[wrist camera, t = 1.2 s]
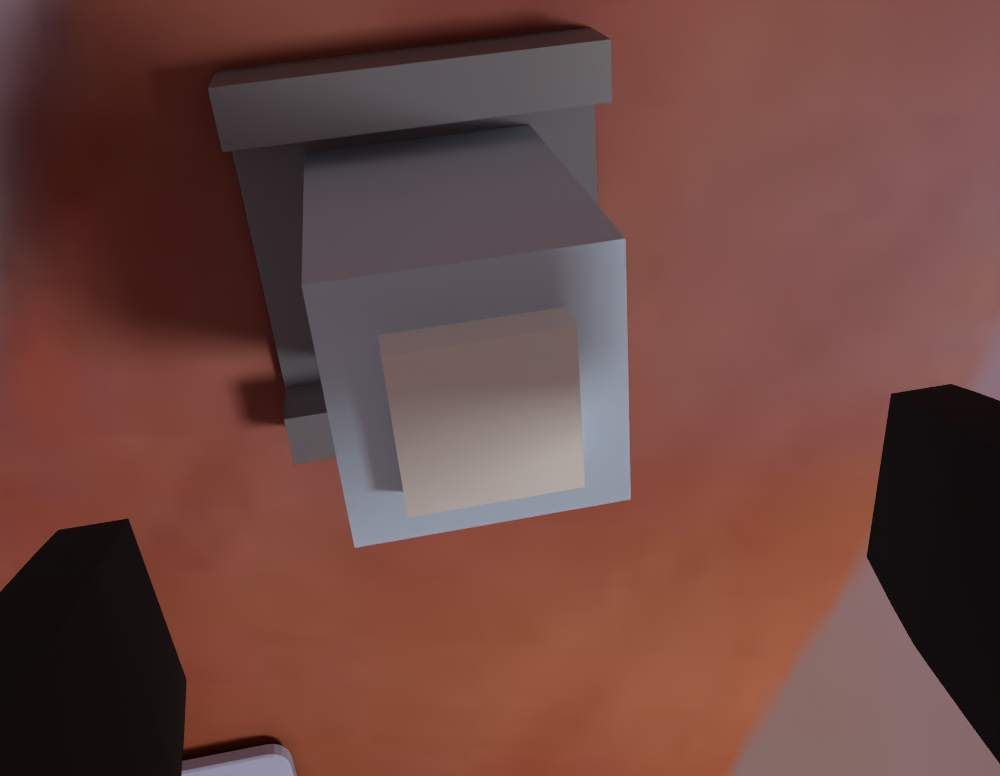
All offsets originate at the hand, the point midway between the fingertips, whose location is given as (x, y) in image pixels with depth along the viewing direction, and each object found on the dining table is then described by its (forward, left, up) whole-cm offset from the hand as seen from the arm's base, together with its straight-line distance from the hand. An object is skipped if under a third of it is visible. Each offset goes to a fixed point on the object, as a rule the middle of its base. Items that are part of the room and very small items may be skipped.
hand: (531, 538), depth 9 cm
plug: (-1, 0, -10) cm, 10 cm away
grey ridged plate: (-1, 0, -10) cm, 10 cm away
